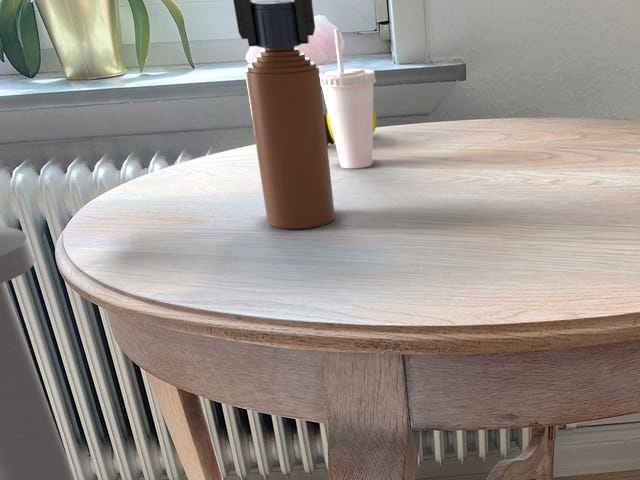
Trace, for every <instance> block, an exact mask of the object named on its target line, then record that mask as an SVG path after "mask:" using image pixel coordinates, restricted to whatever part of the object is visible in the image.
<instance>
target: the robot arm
mask: <svg viewBox="0 0 640 480" xmlns="http://www.w3.org/2000/svg"><path fill="white" fill-rule="evenodd" d="M232 1H233V6H234V13H235V18H236V19H235V20H236V25H237V31H238V34H239V36H240V38H241V39H242V40H247V43H248V46H249V47H257V46H258V45H257V39H256V32H255V26H254V19H253V12H252V6H251V3H252V2H254V1H253V0H232ZM293 1H294V2H295V10H296V17H297V25H298V32H299V40H300V44H301V45H305V44H308V45H309V43H310V39H309V36H311V37H312V36H314V34H315V29H316V23H315V22H316V21H315V14H314V6H313V0H293Z"/></svg>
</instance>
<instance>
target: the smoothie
mask: <svg viewBox="0 0 640 480" xmlns="http://www.w3.org/2000/svg"><path fill="white" fill-rule="evenodd" d="M333 31H334V41H335V49H336V57H337V66H338V69H336V70H335V69H334V70H328V71H324V72H320V83H321V90H322V93H323V97H324V101H325V106H326V110H327V113H328V114H329V118H330V122H331V126H332V131H333V135H334V139H335V143H336V144H335V143H334V144H335V147H336V151H337V155H338V160H339V164H340V167H341V168H344V169H363V168H367V167H371V166H372V165H373V152H374V151H373V148H374V146H373V144H374V143H373V142H374V132H373V107H374V84H375V83H376V82H377V79H376V72H375V71H374V70H372V69H366V68H365V69H364V68H349V69H348V68H347V69H345V66H344V60H343V59H344V58H343V51H342V41H341V31H340V28H334V29H333Z"/></svg>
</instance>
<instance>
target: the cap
mask: <svg viewBox="0 0 640 480" xmlns="http://www.w3.org/2000/svg"><path fill="white" fill-rule="evenodd" d="M251 6H252V12H253V19H254V26H255V32H256V39H257V45H258V46H256V47H257V48H262V49H264V48H284V47H294V46H295V47H298V46H301V45H302V44H300V40H299V32H298V25H297V17H296V10H295V2H294V0H259V1H258V0H257V1H253V2H252V3H251Z"/></svg>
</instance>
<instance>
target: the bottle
mask: <svg viewBox="0 0 640 480" xmlns="http://www.w3.org/2000/svg"><path fill="white" fill-rule="evenodd" d="M259 51H260V53H258V54H255V58H254V59H252V60H251V63H249V64H247V65H246V70H244V71H245V81H246V87H247V94H248V99H249V107H250V113H251V121H252V127H253V132H254V133H253V135H254V142H255V146H256V153H257V160H258V167H259V173H260V181H261V187H262V194H263V200H264V207H265V214H266V222H267V223H268V225H270V226H271V227H274V228H278V229H288V230H300V229H301V230H303V229H311V228H317V227H321V226H325V225H327V224H329V223H332V222H333V221H334V220H335V219H336V217H335V216H336V215H335V206H334V205H335V204H334V197H333V187H332V179H331V178H332V177H331V168H330V160H329V159H330V158H329V150H328V149H329V148H328V146H327V139H326V130H325V120H324V115H325V112H324V102H323V94H322V93H323V91H322V86H321V83H320V74H321V72H320V68H319V66H317V62H315V61H313V60H311V58H310V57H309V56H306V54H305V53H304V52H302V51H301V52H300V49H299V48H298V47H296V46H294V47H284V48H262V49H260V50H259Z"/></svg>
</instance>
